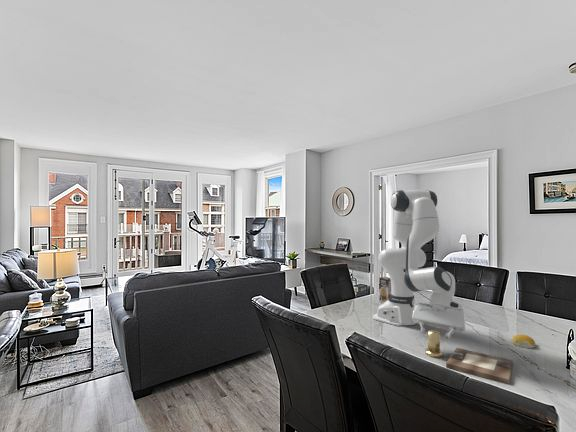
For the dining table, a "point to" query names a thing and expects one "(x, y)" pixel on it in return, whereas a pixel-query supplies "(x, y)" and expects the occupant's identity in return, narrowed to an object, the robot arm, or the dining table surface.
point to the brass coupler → (434, 344)
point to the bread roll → (523, 341)
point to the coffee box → (384, 288)
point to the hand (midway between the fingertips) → (434, 335)
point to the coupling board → (481, 365)
